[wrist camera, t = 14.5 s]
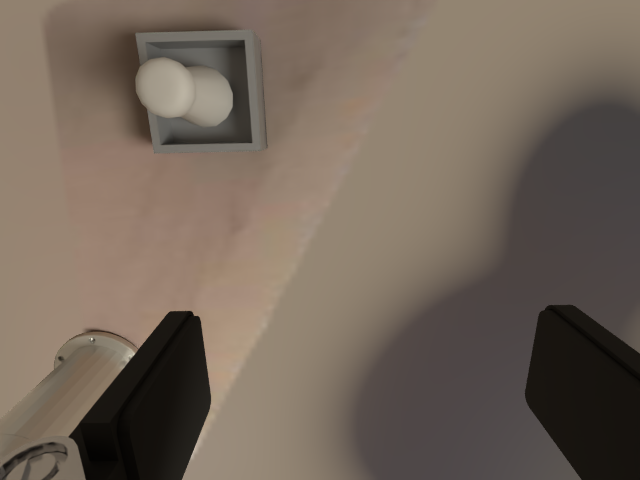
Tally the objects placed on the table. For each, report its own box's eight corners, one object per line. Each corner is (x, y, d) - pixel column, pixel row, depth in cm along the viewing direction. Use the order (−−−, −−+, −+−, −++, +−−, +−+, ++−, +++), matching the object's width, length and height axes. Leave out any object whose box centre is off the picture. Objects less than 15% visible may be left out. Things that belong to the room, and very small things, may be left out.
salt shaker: (237, 129, 40) (198, 132, 28) (184, 124, 40) (122, 125, 28) (238, 71, 39) (198, 47, 26) (183, 65, 38) (117, 39, 26)
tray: (267, 148, 42) (260, 150, 38) (171, 150, 42) (153, 153, 38) (260, 39, 39) (252, 29, 34) (155, 42, 39) (135, 32, 34)
